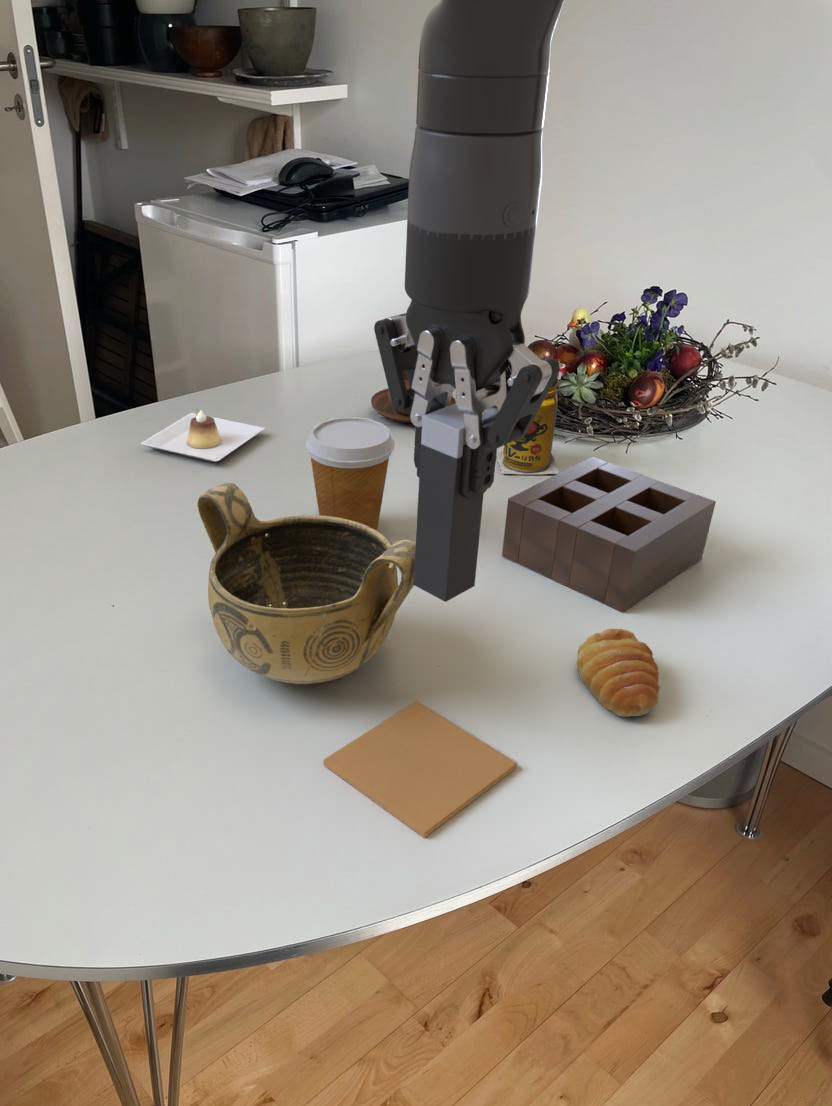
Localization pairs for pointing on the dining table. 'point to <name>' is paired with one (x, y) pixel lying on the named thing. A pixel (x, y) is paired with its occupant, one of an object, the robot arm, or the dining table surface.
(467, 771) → the cork mat
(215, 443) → the dessert
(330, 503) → the disposable coffee cup
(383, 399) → the cup and saucer
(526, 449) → the condiment
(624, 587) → the holder
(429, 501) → the grey-capped tall post
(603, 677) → the pastry
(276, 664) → the ceramic bowl
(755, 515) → the dining table surface
